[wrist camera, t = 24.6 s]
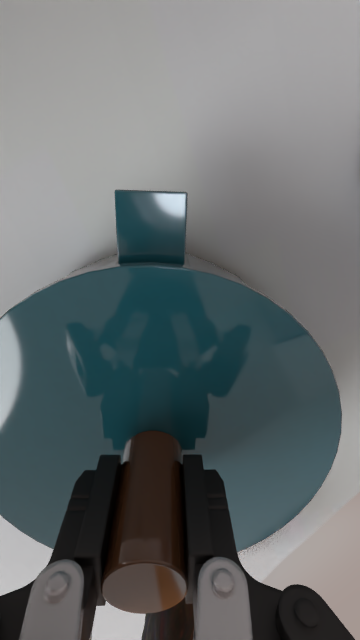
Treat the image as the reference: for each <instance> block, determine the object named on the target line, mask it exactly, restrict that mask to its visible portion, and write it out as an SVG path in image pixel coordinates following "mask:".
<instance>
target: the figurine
mask: <svg viewBox="0 0 360 640" xmlns="http://www.w3.org/2000/svg"><path fill="white" fill-rule="evenodd" d="M193 634H194V612H193V604H186V597H184V599H183V600H182V601H181V602H180V603H178V604H177V605H175V606H174V607H172V608H170V609H167V610H164V611H161V612H156V613H147V614H146V617H145V625H144V630H143V634H142V640H193Z"/></svg>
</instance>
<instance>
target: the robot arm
mask: <svg viewBox="0 0 360 640" xmlns="http://www.w3.org/2000/svg"><path fill="white" fill-rule="evenodd" d="M182 469H183V490H184V511H185V531H186V552H187V573H188V579H189V587H188V591H187V594H186V596H185V597H186V604H193V612H194V634H193V640H355V639H354V638H353V636H352V635H351V634H350V633H349V631H348V630H347V629H346V628H345V627H344V625H343V624H342V623H341V621H340V620H339V619H338V617H337V616H336V615H335V614H334V612H333V611H332V610H331V609H330V608H329V606H328V605H327V604H326V602H325V601H324V600H323V599H322V598H321V597H320V595H318V594H317V593H316V592H315V591H313V590H312V589H310V588H308V587H306V586H303V585H298V584H297V585H290V586H288V587H287V588H285V589H284V590H283V591H281V590H278V589H275V588H273V587H270V586H267V585H264V584H262V583H260V582H258V581H256V580H255V579H253V578H252V577H251V576H250V575H249V574H248V573H247V572H246V571H245V569H244V568H243V566H242V565H241V563H240V561H239V558H238V554H237V550H236V544H235V539H234V534H233V529H232V523H231V518H230V513H229V509H228V502H227V498H226V491H225V486H224V481H223V480H222V478H221V477H220V475H219V473H218V472H217V470H216V469H210V470H204V467H203V459H202V455H201V454H187V455H183V460H182ZM120 470H121V456H120V455H100V457H99V461H98V465H97V469H96V470H85V471H84V472H83V473H82V474H81V476H80V477H79V478H78V479H77V481H76V482H75V485H74V488H73V491H72V494H71V499H70V500H69V503H68V507H67V511H66V513H65V516H64V519H63V522H62V525H61V528H60V531H59V534H58V538H57V541H56V544H55V547H54V550H53V553H52V556H51V559H50V561H49V563H48V565H47V566H46V568H45V569H44V570H43V571H41V573H40V574H39V575H38V576H37V578H36V579H35V580H34V581H32V582H31V583H30V584H28V585H26V586H25V587H22V588H20V589H18V590H15V591H13V592H10V593H7V594H5V595H2V596H0V640H91V638H92V627H93V621H94V616H95V610H96V606H103V605H105V602H106V600H105V599H104V597H103V595H102V593H101V588H100V583H101V578H102V572H103V567H104V561H105V555H106V550H107V544H108V538H109V532H110V527H111V521H112V515H113V510H114V504H115V498H116V492H117V487H118V481H119V475H120Z"/></svg>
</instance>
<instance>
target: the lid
mask: <svg viewBox="0 0 360 640" xmlns="http://www.w3.org/2000/svg"><path fill="white" fill-rule="evenodd" d="M341 421H342V411H341V403H340V395H339V390H338V387H337V384H336V380H335V377H334V374H333V371H332V369H331V367H330V365H329V363H328V361H327V359H326V357H325V355H324V353H323V351H322V350H321V348H320V347H319V346H318V344H317V343H316V342H315V340H314V339H313V338H312V336H311V335H310V333H309V332H308V331H307V330H306V329H305V328H304V327H303V326H302V325H301V324H300V323H299V322H298V321H297V320H296V319H295V318H294V317H293V316H292V315H291V314H290V313H289V312H288V311H287V310H286V309H284V308H283V307H281V306H280V305H279V304H277V303H276V302H275V301H273V300H272V299H271V298H269V297H268V296H266V295H265V294H263V293H261V292H259V291H258V290H256V289H254V288H252V287H250V286H248V285H246V284H244V283H242V282H241V281H238V280H235V279H232V278H230V277H227V276H224V275H222V274H219V273H216V272H213V271H209V270H205V269H200V268H195V267H191V266H186V265H180V264H168V263H157V262H145V263H122V264H116V265H111V266H105V267H99V268H94V269H90V270H86V271H83V272H80V273H77V274H74V275H71V276H68V277H65V278H62V279H60V280H58V281H56V282H54V283H52V284H50V285H48V286H45V287H43V288H41V289H39V290H37V291H36V292H34V293H33V294H31V295H30V296H28V297H27V298H25V299H24V300H22V301H21V302H19V303H18V304H17V305H15V306H14V307H12V308H11V309H10V310H8V311H7V312H6V313H5V314H4V315H3V316H2V317H1V318H0V515H1V516H2V517H3V518H4V519H6V520H7V521H8V522H9V523H11V524H12V525H13V526H15V527H16V528H17V529H18V530H20V531H21V532H23V533H24V534H26V535H28V536H29V537H31V538H33V539H34V540H36V541H37V542H40V543H42V544H44V545H46V546H48V547H50V548H52V549H54V547H55V544H56V541H57V538H58V534H59V531H60V528H61V525H62V522H63V519H64V516H65V513H66V511H67V507H68V503H69V500H70V499H71V494H72V491H73V488H74V485H75V482H76V481H77V479H78V478H79V477H80V476H81V474H82V473H83V472H84V471H85V470H96V469H97V465H98V461H99V457H100V455H120V456H121V470H120V475H119V481H118V487H117V492H116V498H115V504H114V510H113V515H112V521H111V527H110V532H109V538H108V544H107V550H106V555H105V561H104V567H103V572H102V578H101V583H100V588H101V593H102V595H103V597H104V599H105V600H106V601H107V602H108V603H109V604H111V605H112V606H114V607H116V608H118V609H120V610H123V611H127V612H131V613H140V614H147V613H156V612H161V611H164V610H167V609H170V608H172V607H174V606H175V605H177V604H178V603H180V602H181V601H182V600H183V599H184V597H185V596H186V594H187V591H188V587H189V579H188V573H187V552H186V531H185V511H184V490H183V469H182V460H183V455H187V454H201V455H202V459H203V467H204V470H210V469H216V470H217V472H218V473H219V475H220V477H221V478H222V480H223V481H224V486H225V491H226V498H227V502H228V509H229V513H230V518H231V523H232V529H233V534H234V539H235V544H236V550H237V552H239V551H241V550H244V549H246V548H248V547H251V546H252V545H254V544H256V543H258V542H260V541H262V540H264V539H265V538H267V537H269V536H270V535H272V534H273V533H275V532H276V531H278V530H279V529H281V528H282V527H283V526H285V525H286V524H287V523H288V522H289V521H291V520H292V519H293V518H294V517H295V516H296V515H298V514H299V512H300V511H301V510H302V509H303V508H304V507H305V506H306V505H307V504H308V503H309V502H310V501H311V499H312V498H313V497H314V495H315V494H316V493H317V491H318V490H319V489H320V487H321V486H322V484H323V482H324V480H325V479H326V477H327V475H328V473H329V471H330V469H331V467H332V464H333V461H334V459H335V456H336V453H337V450H338V445H339V440H340V435H341Z"/></svg>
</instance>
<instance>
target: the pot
mask: <svg viewBox="0 0 360 640" xmlns="http://www.w3.org/2000/svg"><path fill="white" fill-rule="evenodd" d="M115 210H116V233H117V254H116V255H113V256H110V257H107V258H104V259H101V260H98V261H96V262H94V263H92V264H90V265H88V266H85V267H83V268H80V269H78V270H75V271H73V272H71V273H70V274H69V275H68V276H71V275H74V274H77V273H80V272H83V271H86V270H90V269H94V268H99V267H105V266H111V265H116V264H122V263H145V262H157V263H168V264H180V265H186V266H191V267H195V268H200V269H205V270H209V271H213V272H216V273H219V274H222V275H224V276H227V277H230V278H232V279H235V280H238V281H241V282H242V283H244V282H243V281H242V280H241V279H240V278H239V277H238V276H237V275H235V274H233V273H231V272H229V271H226V270H224V269H222V268H221V267H219V266H217V265H215V264H213V263H211V262H209V261H206V260H203V259H201V258H198V257H195V256H193V255H191V254H189V253H185V246H186V219H187V193H186V192H168V191H139V190H115ZM68 276H66V277H68ZM244 284H245V283H244Z"/></svg>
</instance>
